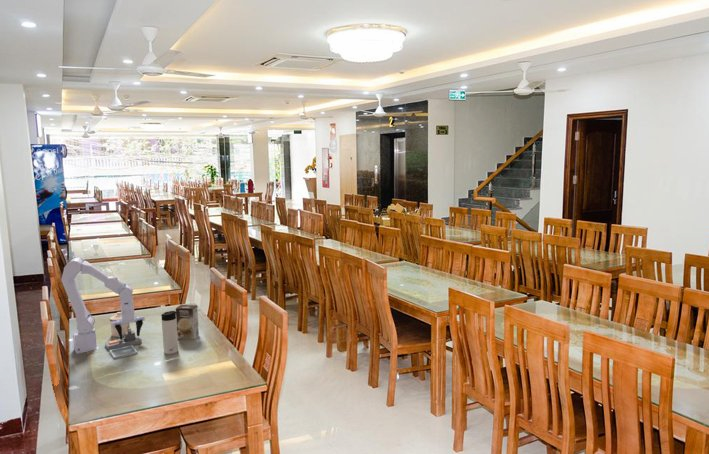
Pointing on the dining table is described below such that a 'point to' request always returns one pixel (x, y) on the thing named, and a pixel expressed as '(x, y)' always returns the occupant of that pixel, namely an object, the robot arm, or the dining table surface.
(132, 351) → the tray
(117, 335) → the teacup with lid
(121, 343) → the power strip
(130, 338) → the plug
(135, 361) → the dining table surface
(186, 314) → the coffee box
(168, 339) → the travel mug
